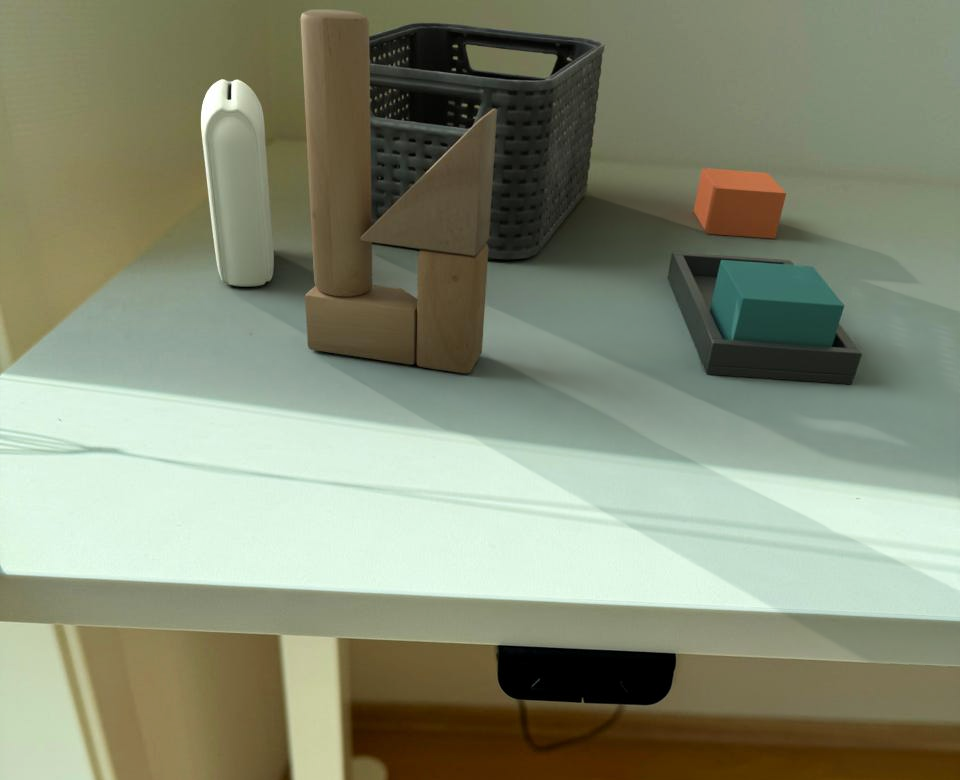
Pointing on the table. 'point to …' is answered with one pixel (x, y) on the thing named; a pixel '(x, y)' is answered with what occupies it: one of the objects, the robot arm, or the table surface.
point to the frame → (747, 358)
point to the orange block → (739, 203)
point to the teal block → (774, 304)
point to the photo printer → (238, 183)
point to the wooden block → (389, 219)
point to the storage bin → (519, 124)
